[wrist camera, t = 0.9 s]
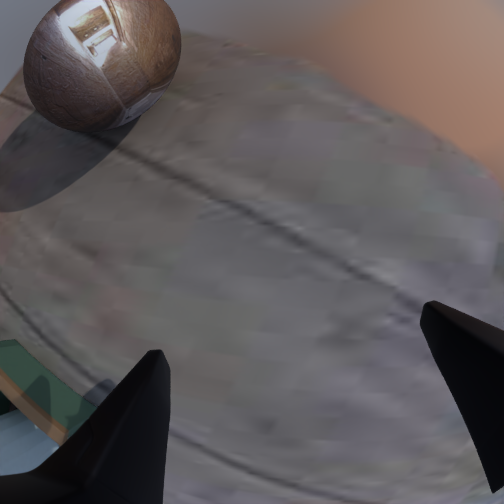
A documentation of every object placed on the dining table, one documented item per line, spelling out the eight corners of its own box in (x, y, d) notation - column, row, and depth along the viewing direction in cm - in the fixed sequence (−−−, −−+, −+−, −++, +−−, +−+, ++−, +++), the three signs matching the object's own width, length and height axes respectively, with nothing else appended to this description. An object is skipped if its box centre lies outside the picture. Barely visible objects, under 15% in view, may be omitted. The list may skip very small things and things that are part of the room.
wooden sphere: (124, 184, 25) (29, 93, 11) (50, 127, 27) (-22, 57, 12) (222, 76, 27) (206, -42, 12) (132, 42, 29) (96, -43, 14)
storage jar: (69, 454, 21) (-1, 505, 8) (37, 461, 21) (-27, 502, 8) (37, 400, 22) (-47, 432, 9) (9, 412, 22) (-64, 439, 9)
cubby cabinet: (102, 408, 22) (41, 448, 12) (71, 509, 20) (33, 547, 10) (15, 337, 23) (-52, 343, 13) (-1, 448, 21) (-46, 469, 11)
